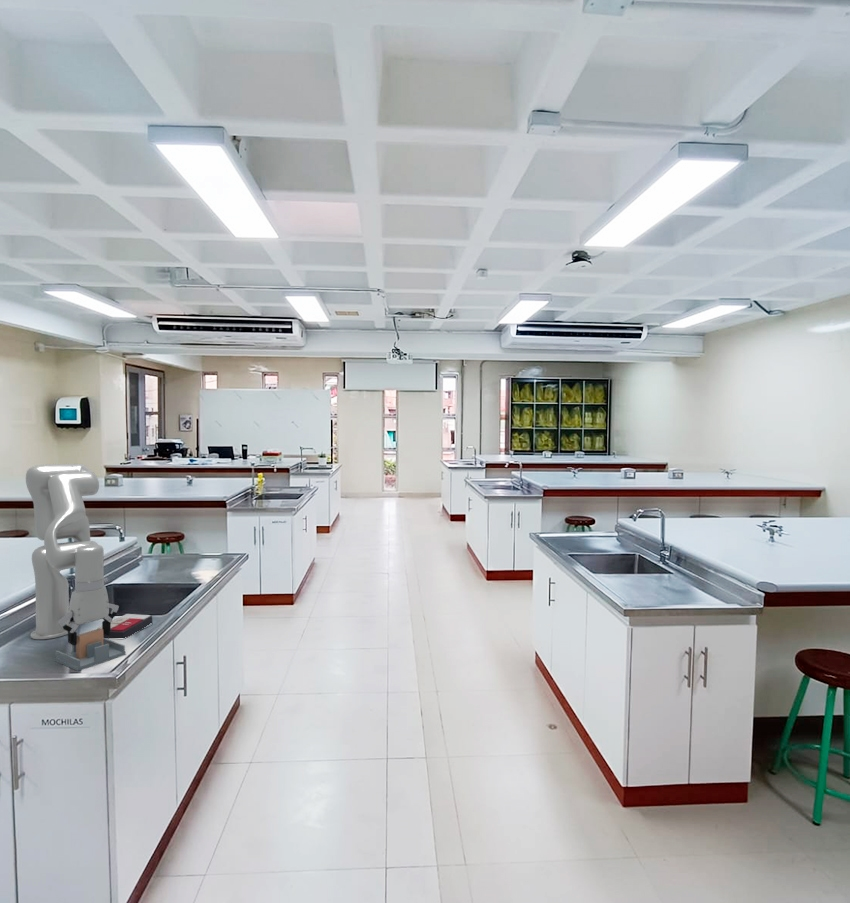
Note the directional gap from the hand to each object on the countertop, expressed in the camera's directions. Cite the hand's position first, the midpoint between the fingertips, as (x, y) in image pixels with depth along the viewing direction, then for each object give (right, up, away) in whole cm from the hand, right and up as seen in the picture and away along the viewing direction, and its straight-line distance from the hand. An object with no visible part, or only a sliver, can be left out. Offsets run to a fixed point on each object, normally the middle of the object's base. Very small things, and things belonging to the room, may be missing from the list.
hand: (89, 639), depth 162 cm
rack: (0, -6, 0) cm, 6 cm away
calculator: (-3, -6, +23) cm, 24 cm away
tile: (0, -5, 0) cm, 5 cm away
